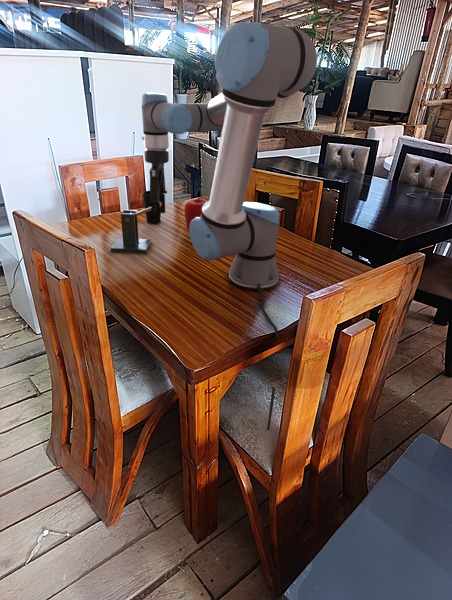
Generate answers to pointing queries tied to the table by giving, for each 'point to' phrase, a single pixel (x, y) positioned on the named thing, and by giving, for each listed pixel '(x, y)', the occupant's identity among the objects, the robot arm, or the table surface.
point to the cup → (148, 214)
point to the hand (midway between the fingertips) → (158, 217)
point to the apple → (193, 210)
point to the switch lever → (143, 210)
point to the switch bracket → (130, 236)
